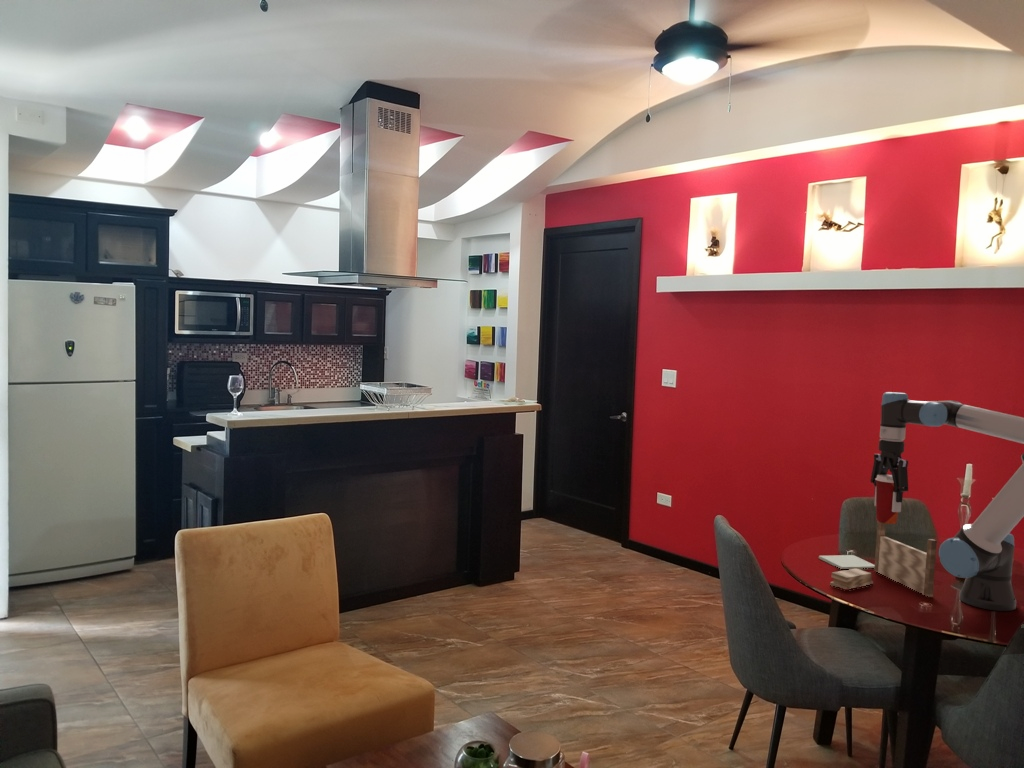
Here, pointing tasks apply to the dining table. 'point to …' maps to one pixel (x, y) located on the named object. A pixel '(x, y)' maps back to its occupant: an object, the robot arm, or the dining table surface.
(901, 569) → the brown flat upright panel
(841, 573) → the offcut stack
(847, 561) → the sage board
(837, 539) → the dining table surface
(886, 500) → the coffee cup
